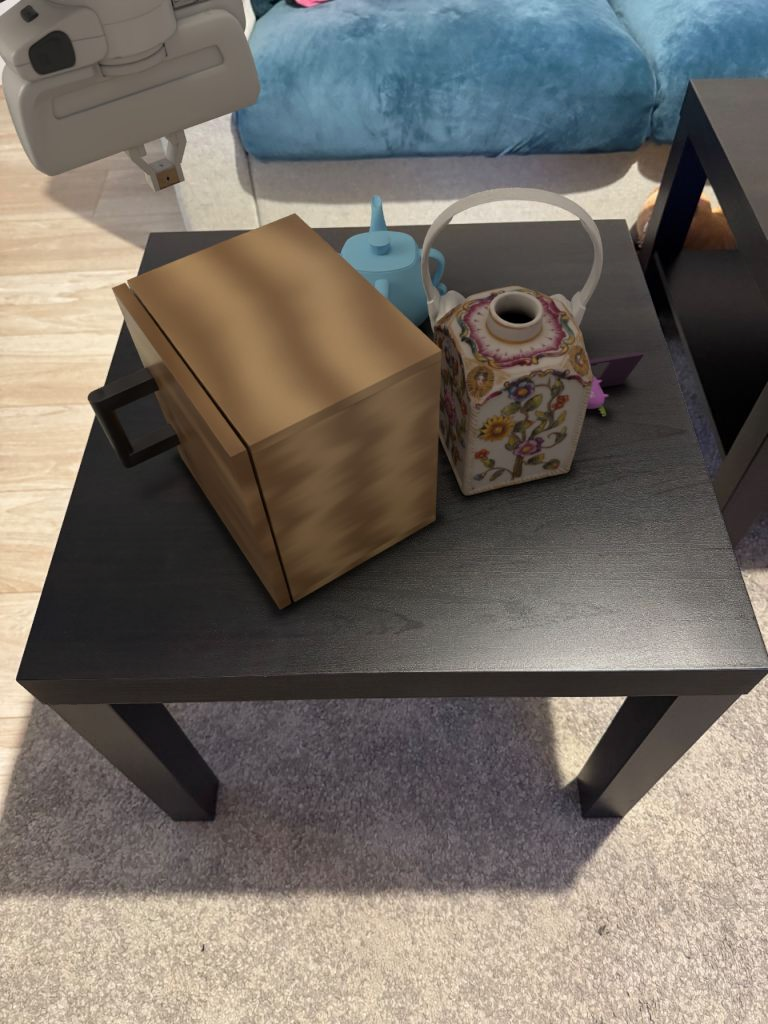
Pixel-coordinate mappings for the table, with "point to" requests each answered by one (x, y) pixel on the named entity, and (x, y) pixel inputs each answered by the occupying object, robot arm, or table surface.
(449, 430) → the decorative jar
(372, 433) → the cupboard
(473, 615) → the table surface
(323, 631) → the table surface
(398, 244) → the teapot
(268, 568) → the door
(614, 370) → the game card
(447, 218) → the headphones
